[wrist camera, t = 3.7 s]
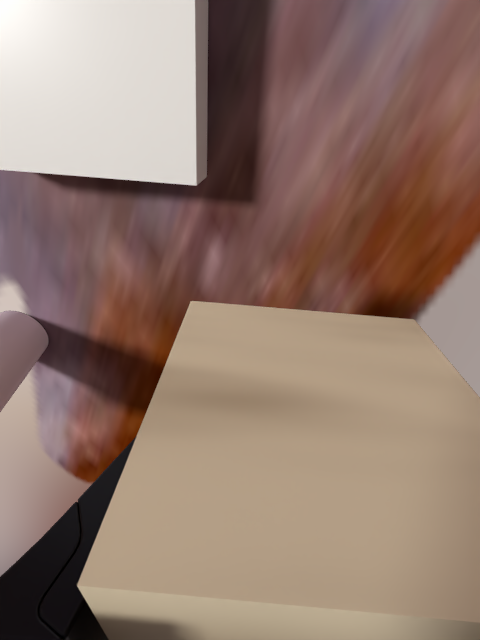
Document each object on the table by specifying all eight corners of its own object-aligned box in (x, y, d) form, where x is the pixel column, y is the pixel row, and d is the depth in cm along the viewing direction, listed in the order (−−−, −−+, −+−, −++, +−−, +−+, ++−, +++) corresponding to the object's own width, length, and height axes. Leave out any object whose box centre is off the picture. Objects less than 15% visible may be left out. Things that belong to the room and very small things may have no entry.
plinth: (206, 176, 15) (196, 185, 13) (11, 161, 15) (-38, 166, 13) (209, -155, 10) (192, -254, 7) (-89, -176, 10) (-207, -282, 7)
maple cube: (354, 455, 11) (433, 723, 6) (194, 441, 11) (141, 695, 6) (414, 319, 8) (684, 641, 3) (190, 301, 8) (76, 585, 3)
